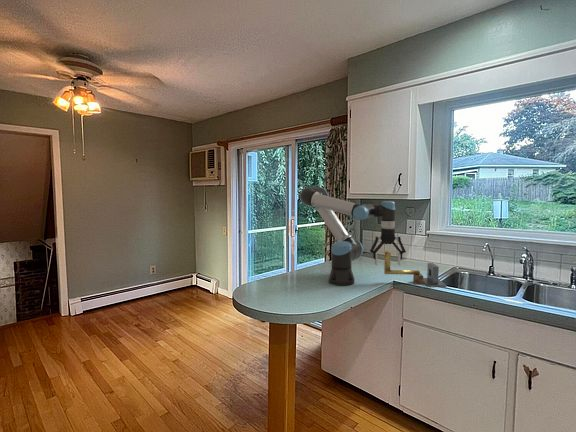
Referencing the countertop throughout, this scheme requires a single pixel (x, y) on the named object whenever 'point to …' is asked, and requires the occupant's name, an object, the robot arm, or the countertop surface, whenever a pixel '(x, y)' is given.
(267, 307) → the countertop surface
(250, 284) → the countertop surface
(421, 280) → the rest block
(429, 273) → the grey upright block
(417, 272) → the hook rod
